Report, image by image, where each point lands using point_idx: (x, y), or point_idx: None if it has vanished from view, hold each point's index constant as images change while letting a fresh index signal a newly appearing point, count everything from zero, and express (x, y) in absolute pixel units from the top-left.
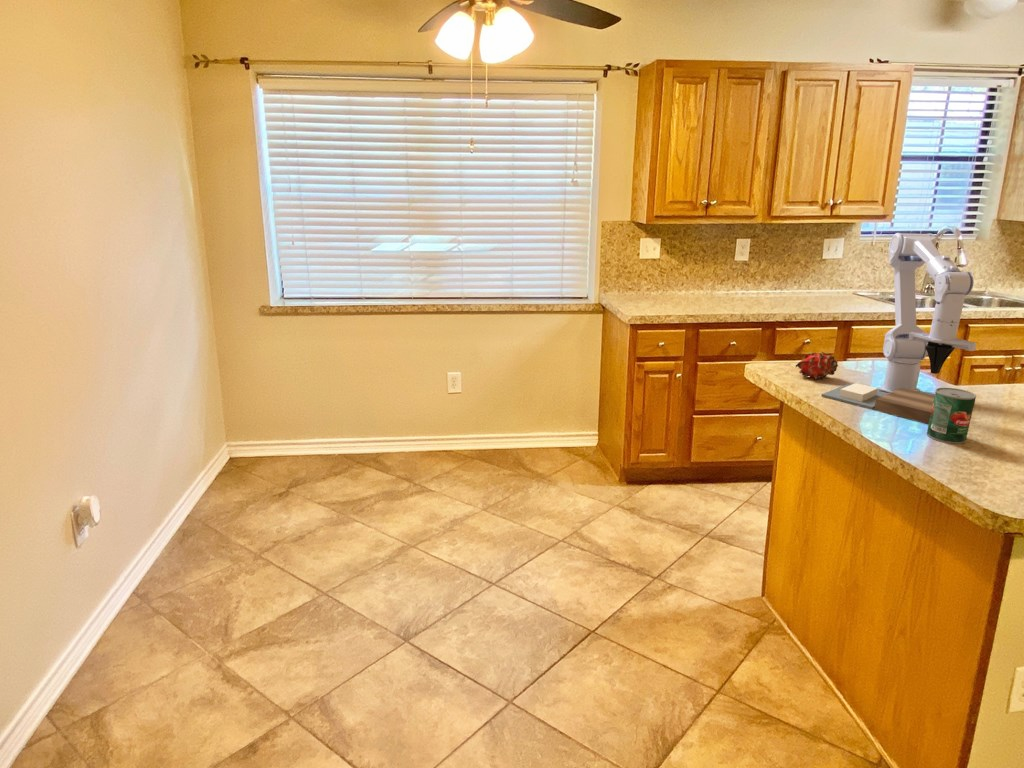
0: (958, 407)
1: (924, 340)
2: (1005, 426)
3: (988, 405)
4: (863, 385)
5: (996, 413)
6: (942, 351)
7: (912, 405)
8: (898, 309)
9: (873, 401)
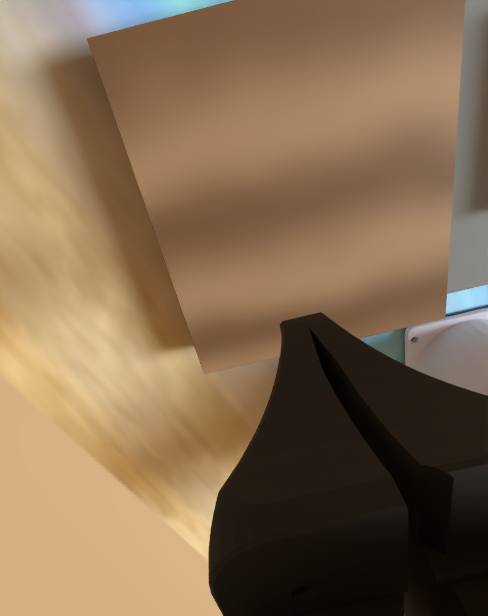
0: None
1: None
2: (16, 353)
3: (205, 478)
4: None
5: (139, 439)
6: (286, 480)
7: (258, 62)
8: None
9: (478, 89)
